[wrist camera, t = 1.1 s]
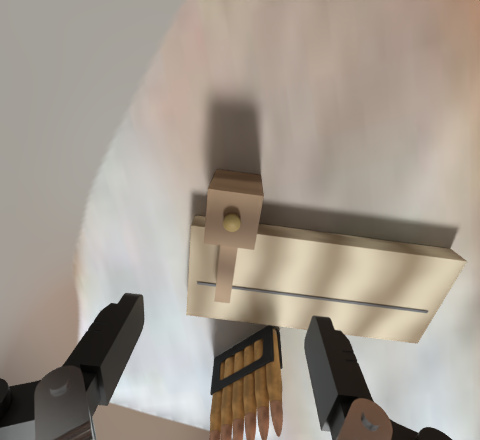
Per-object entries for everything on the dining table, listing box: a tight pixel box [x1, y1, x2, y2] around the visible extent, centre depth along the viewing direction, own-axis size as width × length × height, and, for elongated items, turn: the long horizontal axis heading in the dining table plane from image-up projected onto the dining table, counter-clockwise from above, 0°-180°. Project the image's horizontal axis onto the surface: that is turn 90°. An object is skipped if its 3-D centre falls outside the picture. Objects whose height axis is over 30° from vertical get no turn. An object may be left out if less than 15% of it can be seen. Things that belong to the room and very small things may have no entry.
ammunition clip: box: [209, 325, 283, 440], centre depth 31 cm, size 11×2×12 cm, turn 133°
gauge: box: [204, 169, 264, 303], centre depth 26 cm, size 12×4×7 cm, turn 173°
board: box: [186, 215, 467, 343], centre depth 30 cm, size 28×12×2 cm, turn 83°
